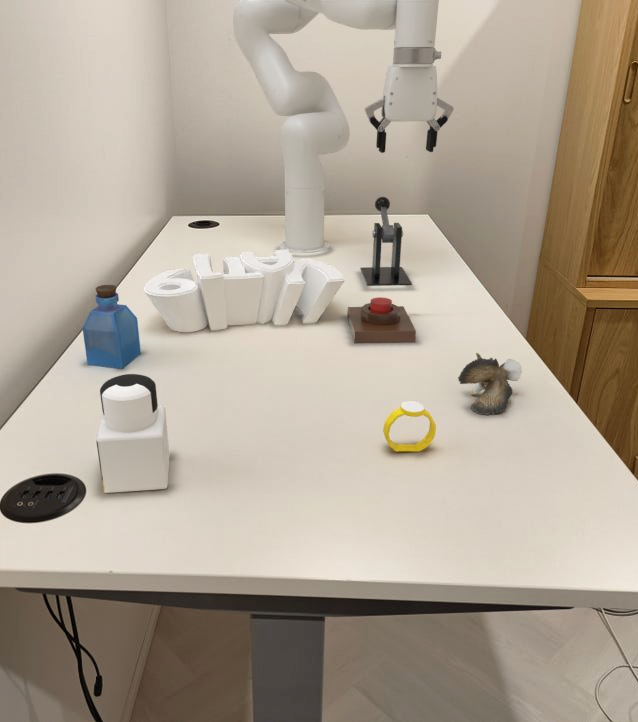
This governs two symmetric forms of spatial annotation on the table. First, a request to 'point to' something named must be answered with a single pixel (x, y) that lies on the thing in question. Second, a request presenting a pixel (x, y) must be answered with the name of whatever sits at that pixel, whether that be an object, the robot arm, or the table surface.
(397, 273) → the lever bracket
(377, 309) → the button
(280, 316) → the white letter sculpture
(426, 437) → the watch
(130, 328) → the perfume bottle
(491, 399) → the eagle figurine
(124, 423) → the medicine bottle
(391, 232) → the press lever
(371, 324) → the button block
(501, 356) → the table surface
